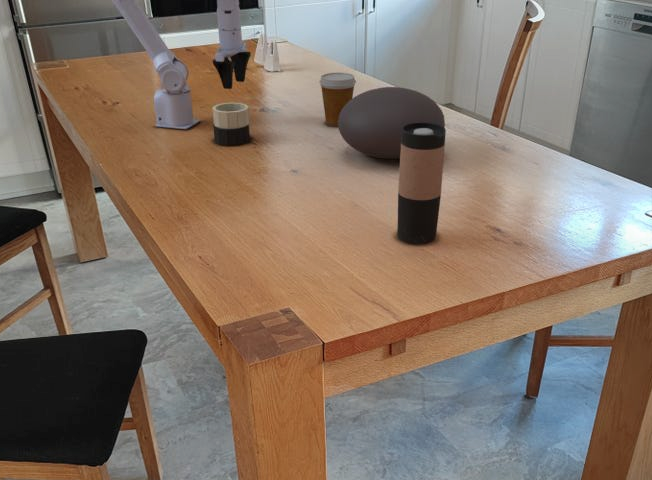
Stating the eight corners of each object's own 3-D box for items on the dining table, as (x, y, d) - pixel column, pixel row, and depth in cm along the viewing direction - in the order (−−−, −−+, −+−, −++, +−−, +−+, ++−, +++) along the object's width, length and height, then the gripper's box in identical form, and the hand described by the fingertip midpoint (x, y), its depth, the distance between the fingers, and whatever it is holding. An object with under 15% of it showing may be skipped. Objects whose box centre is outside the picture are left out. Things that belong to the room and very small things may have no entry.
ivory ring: (208, 127, 178) (206, 110, 176) (223, 117, 185) (222, 101, 183) (240, 130, 176) (239, 113, 174) (254, 120, 183) (253, 103, 181)
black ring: (208, 143, 180) (207, 127, 178) (224, 133, 187) (223, 117, 185) (240, 147, 178) (239, 131, 175) (255, 136, 184) (254, 121, 182)
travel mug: (392, 229, 137) (397, 122, 126) (432, 227, 137) (440, 121, 126) (399, 246, 131) (405, 136, 119) (441, 244, 131) (451, 134, 120)
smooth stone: (384, 131, 186) (386, 71, 178) (463, 153, 172) (469, 88, 163) (316, 154, 172) (315, 90, 164) (396, 180, 158) (399, 111, 149)
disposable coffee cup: (352, 129, 189) (352, 81, 182) (316, 127, 190) (315, 80, 183) (357, 118, 196) (358, 72, 189) (323, 117, 198) (323, 71, 191)
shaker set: (253, 66, 249) (251, 31, 243) (264, 64, 251) (262, 30, 244) (271, 73, 241) (269, 37, 234) (281, 71, 242) (280, 35, 236)
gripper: (231, 35, 174) (236, 93, 182) (256, 24, 186) (259, 79, 193) (205, 33, 176) (211, 90, 184) (231, 23, 188) (235, 77, 195)
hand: (234, 84), depth 189 cm, fingers open, 7 cm apart
